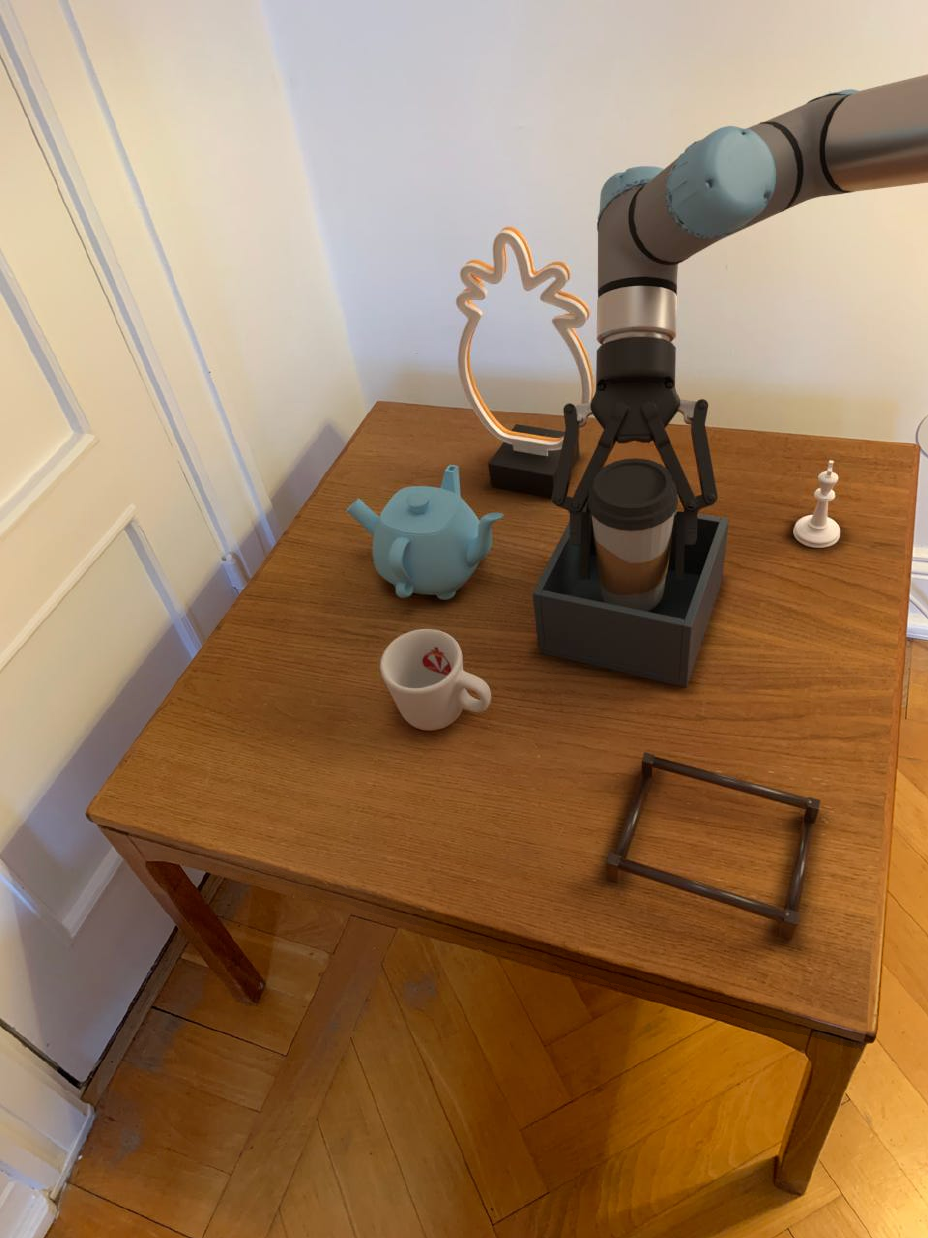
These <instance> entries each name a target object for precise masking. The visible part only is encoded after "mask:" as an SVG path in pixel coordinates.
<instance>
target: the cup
mask: <svg viewBox="0 0 928 1238" xmlns="http://www.w3.org/2000/svg"><path fill="white" fill-rule="evenodd" d="M463 659H464V657H463V652H462V648H461V646H460V645H459V643H458V641H457V640H456V639H455V638H454V637H453V636H451V634H449V633H447V632H444V631H441V630H439V629H433V628H421V629H419V628H418V629H414V630H410V631H408V632H406V633H403V634H401V635H399V636H398V637H396V638H395V639H394V640H392V641H391V643H389V644H388V646H387V647H386V648H385V649H384V651H383V653H382V655H381V658H380V662H379V668H380V669H379V670H380V674H381V677H382V680H383V682H384V683H385V686H386V687H387V690H388V692H389V694H390V695H391V697H392V700H393V701H394V703H395V705H396V708H397V709H398V711H399V712H400V714H401V716H402V718H403V719H404V720H405V721H406V722H407V723H408V724H409V725H410V726H412V727H413V728H416V729H419V730H421V731H422V730H423V731H429V732H430V731H437V730H441V729H445V728H446V727H448V726H450V725H452V724H453V723H454V722H455V721H457V719H458V718H459V716H460V715H461V714H462V712H463V710H467V711H470V712H474V713H482V712H485V711H486V710H487V709H488V707H489V705H490V704H491V701H492V691H491V689H490V686H489V685H488V683H487V682H486V681H485V680H484V679H482V678H481V677H479V676H477V675H474V674H472V673H469V672H467V671H465V670H464V660H463ZM467 689H468V690H471V691H473V692H475V693H476V694H477V696H479V698H480V699H477V698H475V697H473V696H471V694H470V693H469V692H468V690H467Z"/></svg>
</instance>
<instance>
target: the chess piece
mask: <svg viewBox="0 0 928 1238" xmlns="http://www.w3.org/2000/svg"><path fill="white" fill-rule="evenodd" d="M834 464H835V461H834V460H831V459H830V460H829V461H828V464H827V465H828V466H827V470H825V471H821V472H820V473H819V474H818V476H817V480H818V484H819V488H817V489H816V490H815V491H814V493H813V496H814V498H815V499H816V500H817V502H816V506H815V508H814V511H813V513H812V514H809V515H805V516H802V517H801V518H799V519H798V520H797V521H796V522H795V524H794V527H793V529H792V530H793V531H792V532H793V536H794V538H795V539H796V540H797V542H799V543H800V544H802V545H804V546H806V547H810V548H813V549H814V548H816V549H823V548H829V547H831V546H834V545H835V544H836V543H837V542H839V540H840V537H841V528H840V525H839V524H838V523H837V522H836V521H835V520H834V519H833V518H831V517H829V516H828V512H829V511H828V510H829V509H828V508H829V502H831V501H833V500H834V499H835V498H836V492H835V491H834V490H833V489H834V486H835V485H836V484H837V483H838V482H839V475H838V474H837V473H836V472H834V471H833V468H834Z"/></svg>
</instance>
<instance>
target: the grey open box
mask: <svg viewBox="0 0 928 1238" xmlns="http://www.w3.org/2000/svg"><path fill="white" fill-rule="evenodd" d="M588 500H589V499H588ZM583 510H584V511H583V512H589V513H590V514H591V512H590V510H589V506H588V501H587V503H586V505H585V507H584V509H583ZM677 511H680V510H677V509H676V511H675V513H674V520H673V527H672V541H671V548H670V555H669V562H668V570H667V574H666V579H665V586H664V593H663V597H662V599H661V601H660V602H659V604H657V606H656V607H655V608H654V609H652V610H651V611H649V612H646V611H641V610H636V609H632V608H627V607H622V606H617V605H613V604H608V603H606V602H605V601H604V599H603V597H602V593H601V585H600V579H599V576H598V568H597V560H596V553H595V545H594V530H593V522H592V514H591V535H590V579H580V563H581V545H571V542H570V520H569V521H568V523H567V525H566V527H565V529H564V531H563V533H562V535H561V537H560V539H559V540H558V542H557V544H556V546H555V548H554V550H553V552H552V554H551V556H550V558H549V560H548V562H547V563H546V566H545V568H544V570H543V572H542V573H541V575H540V577H539V579H538V581H537V583H536V585H535V588H534V589H533V591H532V593H531V595H532V603H533V612H534V620H535V621H534V622H535V628H536V629H535V630H536V637H537V646H538V653H539V654H544V655H547V656H552V657H557V658H561V659H564V660H567V661H568V660H569V661H573V662H577V663H581V664H586V665H588V666H589V665H590V666H594V667H598V668H602V669H606V670H611V671H615V672H619V673H623V674H627V675H630V676H631V675H632V676H635V677H640V678H645V679H648V680H653V681H655V682H656V681H657V682H661V683H665V684H669V685H673V686H677V687H682V688H688V685H689V682H690V679H691V676H692V673H693V670H694V667H695V664H696V661H697V659H698V655H699V653H700V649H701V646H702V643H703V640H704V637H705V634H706V630H707V628H708V625H709V622H710V620H711V619H710V618H711V615H712V613H713V609H714V607H715V603H716V601H717V598H718V594H719V592H720V588H721V586H722V582H723V576H724V568H725V567H724V566H725V560H726V550H727V542H728V531H729V523H730V519H729V518H728V517H720V516H715V515H710V514H704V513H698V514H697V540H696V543H695V545H684V580H675V540H676V513H677Z"/></svg>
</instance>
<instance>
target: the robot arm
mask: <svg viewBox="0 0 928 1238" xmlns="http://www.w3.org/2000/svg"><path fill="white" fill-rule="evenodd" d="M919 184H921V185H922V184H928V74H923V75H919V76H915V77H911V78H907V79H903V80H899V81H895V82H891V83H886V84H881V85H878V86H874V87H870V88H866V89H861V90H858V89H853V88H852V89H851V88H850V89H848V88H847V89H842V90H840V91H839V90H838V91H834V92H829V93H826V94H824V95H821V96H818V97H815V98H812V99H811V100H808V101H807V103H805V104H803V105H801V106H798V107H796V108H793V109H790V110H789V111H786V112H784V113H782V114H779V115H777V116H775V117H773V118H772V117H771V118H770V119H768V120H765V121H761V122H759V123H757V124H754V125H751V126H749V127H747V128H742V127H739V126H735V125H726V126H723V127H719V128H717V129H714V130H713V131H711V132H710V133H709V134H708V135H706V136H705V137H703V138H702V139H700V140H699V139H698V140H697V141H696V140H695V141H694V142H693V143H691V144H690V145H688V146H687V147H686V148H685V149H684V152H682V153H680V155H679V156H678V157H677V158H676V159H674V160H673V161H672V162H671V163H670V164H669V165H667V166H666V167H665V168H662V167H659V166H651V165H641V166H634V167H633V166H632V167H629V168H627V169H626V170H625V171H624V172H616V173H614V174H613V175H611V176H610V177H609V178H608V179H607V180H606V181H605V182H604V184H603V186H602V188H601V191H600V196H599V197H600V198H599V212H598V215H597V222H596V231H597V300H596V341H597V342H598V344H600V346H599V347H598V348H597V349H596V358H595V359H596V361H595V363H596V365H595V367H596V368H595V374H596V375H595V393H594V394H593V398H592V400H591V402H590V403H585V404H581V403H579V404H573V403H571V402H570V403H567V404H565V405H563V418H564V427H565V429H564V432H565V434H564V439H563V444H562V449H561V454H560V459H559V463H558V468H557V473H556V478H555V483H554V488H553V493H552V497H551V498H550V500H551V503H552V504H553V505H554V506H556V507H558V508H561V509H564V510H566V511H567V512H568V514H569V521H570V542H571V545H581V563H580V579H590V535H591V514H590V513H589V512H583V511H584V510H583V509H584V507H585V505H586V503H587V501H588V499H589V490H590V488H591V485H592V483H593V481H594V478H595V476H596V475H597V473H598V472H599V471H600V470H601V469H602V468H604V467H605V466H606V465H605V464H606V463H607V462H608V461H607V460H608V459H609V456H610V454H611V453H612V451H613V449H614V447H615V445H616V443H618V444H628V443H631V442H637V443H641V444H647V443H649V444H650V443H651V442H653V444H654V446H655V449H656V451H657V452H658V454H659V456H660V459H661V461H662V463H663V465H664V467H665V468H666V469H667V470H668V471H669V472H670V474H671V476H672V479H673V481H674V483H675V484H676V488H677V497H678V498H679V499H678V500H679V501H680V503H681V505H682V508H683V510H679V511H677V513H676V540H675V580H684V545H695V543H696V540H697V514H699V512H700V510H702V509H705V508H707V507H710V506H713V505H714V504H715V503H717V501H718V498H719V497H718V495H719V494H718V491H717V485H716V480H715V475H714V474H715V473H714V467H713V462H712V455H711V451H710V450H711V449H710V446H709V445H710V444H709V439H708V432H707V428H706V422H707V415H708V411H709V410H708V409H709V402H708V401H707V399H704V398H701V399H698V400H697V401H695V400H686V399H681V398H680V396H679V394H678V393H677V390H676V364H677V363H676V360H677V359H676V358H677V357H676V356H677V347H676V345H675V344H674V343H673V341H674V340H675V339H676V337H677V311H678V309H677V308H678V269H679V264H681V263H683V262H685V261H687V260H689V259H690V258H691V257H692V256H694V255H696V254H697V253H699V252H702V251H703V250H705V249H707V248H708V247H710V246H712V245H714V244H715V243H717V242H719V241H722V240H723V239H725V238H727V237H730V236H732V235H735V234H736V233H739V232H741V231H743V230H745V229H747V228H749V227H753V226H754V225H756V224H759V223H760V222H762V221H765V220H767V219H769V218H771V217H773V216H776V215H778V214H781V213H783V212H784V211H786V210H789V209H791V208H793V207H795V206H799V205H801V204H802V203H805V202H807V201H810V200H813V199H816V198H823V197H829V196H837V195H844V194H851V193H856V192H863V191H872V190H879V189H886V188H887V189H888V188H895V187H903V186H904V187H905V186H911V185H913V186H914V185H919ZM677 413H680V414H682V417H683V421H684V423H685V424H686V425H690V434H691V440H692V447H693V452H694V458H695V464H696V469H697V475H698V481H699V485H700V492H701V494H698V495H695V494H694V491H693V489H692V487H691V484H690V482H689V479H688V477H687V476H686V473H685V471H684V469H683V467H682V464H681V462H680V460H679V458H678V456H677V453H676V451H675V449H674V447H673V445H672V442H671V440H670V436H669V435H668V433H667V430H666V428H667V427H668V425H669V424H670V423H671V422H672V420H673V419H674V417H675V416H676V415H677ZM592 415H593V416H594V418H595V420H596V421H597V422H598V424H599V425H600V426H601V428H602V429H603V431H602V432H601V435H600V437H599V439H598V442H597V444H596V447H595V449H594V451H593V454H592V456H591V458H590V460H589V462H588V464H587V466H586V468H585V471H584V473H583V475H582V477H581V479H580V480H579V484H578V485H577V487H576V490H575V492H574V494H573V496H572V497H571V496H569V495H568V492H569V489H570V483H571V479H572V475H573V474H572V473H573V469H574V468H573V465H574V460H575V455H576V450H577V445H578V440H579V441H580V435H581V434H580V431H581V429H582V428H584V427H585V426H586V424H587V421H588V418H589V417H590V416H592ZM580 428H581V429H580Z"/></svg>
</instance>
